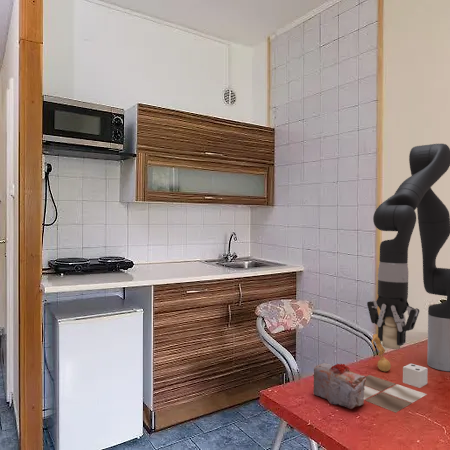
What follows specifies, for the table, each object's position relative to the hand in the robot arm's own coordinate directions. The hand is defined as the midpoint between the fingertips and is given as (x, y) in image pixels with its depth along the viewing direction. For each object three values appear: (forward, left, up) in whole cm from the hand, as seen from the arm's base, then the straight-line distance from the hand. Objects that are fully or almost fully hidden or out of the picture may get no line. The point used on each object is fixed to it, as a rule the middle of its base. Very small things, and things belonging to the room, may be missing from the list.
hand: (391, 342), depth 106 cm
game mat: (-4, -5, -16) cm, 17 cm away
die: (-18, -2, -16) cm, 24 cm away
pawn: (0, 0, -1) cm, 1 cm away
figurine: (-20, -14, -16) cm, 29 cm away
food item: (+11, -9, -16) cm, 21 cm away
